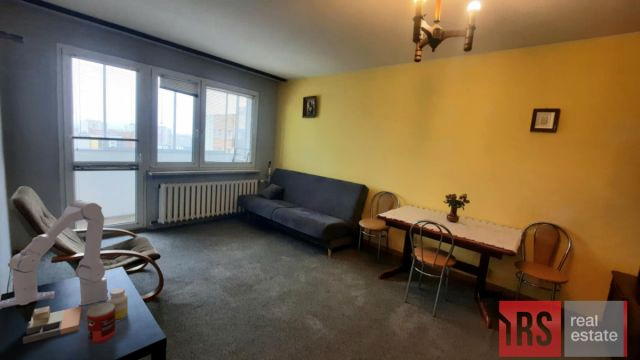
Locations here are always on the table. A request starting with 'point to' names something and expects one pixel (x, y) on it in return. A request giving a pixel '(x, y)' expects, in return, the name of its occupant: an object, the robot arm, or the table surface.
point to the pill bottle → (119, 303)
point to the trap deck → (54, 325)
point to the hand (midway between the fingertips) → (28, 320)
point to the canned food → (101, 322)
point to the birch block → (41, 315)
